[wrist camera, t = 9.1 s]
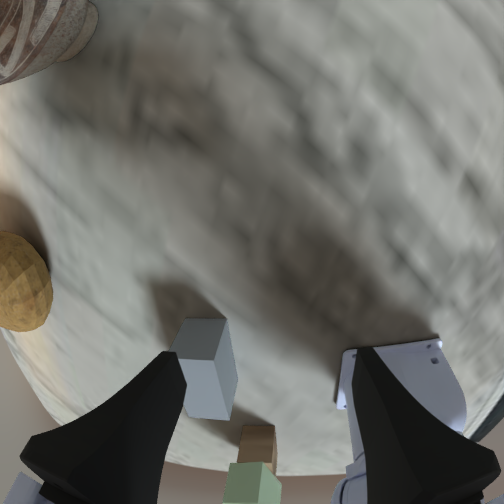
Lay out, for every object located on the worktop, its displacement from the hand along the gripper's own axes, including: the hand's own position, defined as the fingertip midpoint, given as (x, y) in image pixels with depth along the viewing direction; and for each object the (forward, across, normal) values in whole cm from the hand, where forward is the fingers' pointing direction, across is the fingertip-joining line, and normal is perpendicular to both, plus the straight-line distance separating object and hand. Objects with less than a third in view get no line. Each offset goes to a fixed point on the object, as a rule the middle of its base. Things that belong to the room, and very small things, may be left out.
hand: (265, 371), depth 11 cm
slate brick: (+10, +6, +8) cm, 15 cm away
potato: (+11, +25, -1) cm, 27 cm away
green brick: (+5, +3, +23) cm, 24 cm away
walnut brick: (+10, +3, +23) cm, 26 cm away
